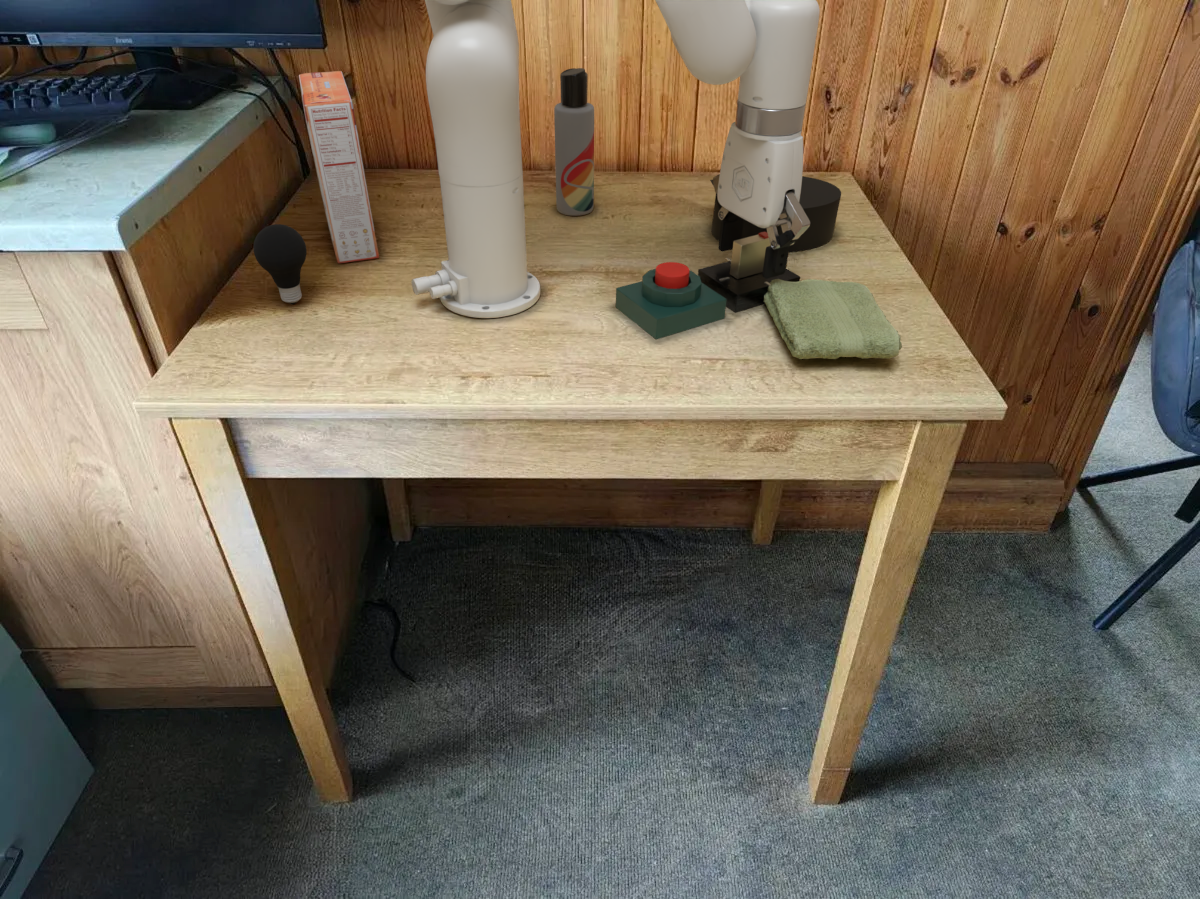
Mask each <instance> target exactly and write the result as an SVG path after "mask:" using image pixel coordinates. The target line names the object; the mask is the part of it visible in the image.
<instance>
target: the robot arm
mask: <svg viewBox="0 0 1200 899" xmlns="http://www.w3.org/2000/svg"><path fill="white" fill-rule="evenodd" d="M654 1H655V3H656V5H657V7H658V10H659V11H660V13H661V15H662V17H663V19H664V21H665V23H666V26H667V28H668V30H669V32H670V37H671V41H672V43H673V46H674V48H675V50H676V51H677V53H678V55H679V57H680V58H681V59H682V61H683V63H684V65H685V67H686V69H687V70H688V72H690V74H691V75H692V76H693V77H694V78H695V79H697V80H698V81H700V82H702V83H704V84H707V85H712V86H720V85H726V84H729V83H731V82H734V81H735V80H737V79H739V83H738V93H737V100H736V111H735V121H734V122H732V123H731V124H730V127H729V131H728V133H727V136H726V140H725V143H724V144H725V145H724V148H723V153H722V158H721V164H720V171H719V174H717V175H716V176H714V177H712V180H713V185H714V186H713V185H712V186H713V189H714V192H715V196H716V201H717V204H718V206H719V209H720V210H719V213H718V216H719V218H720V219H721V220H723V221H721V227H720V237H719V241H718V246H717V247H718V251H719V252H721V253H724V252H727V251H731V250H733V242H734V241H735V240H739V239H742V231H743V222H744V219H745V220H746V221H748V222H750V223H752V224H754V225H756V226H758V227H760V228H766V229H767V233H768V237H769V241H770V245H771V246H768V247H766V251H765V258H764V265H763V272H762V275H763V277H764V278H766V279H768V278H772V277H775V276H779V275H782V274H784V273H785V271H786V269H787V266H788V265H787V264H788V257H789V253H790V252H789V246H790V245H793V244H794V243H795V241H797V240H798V239H800V238H801V236H802V234H803V233H804V232H805V231H806V230H807V229H808V227H809V226H810V220H809V219H808V217H807V215H806V213H805V212H804V210H803V208H802V206H801V205H800V203H799V200H800V193H801V185H802V176H803V172H804V171H803V170H804V136H803V135H802V132H803V126H804V121H805V120H804V119H805V113H806V106H807V100H808V94H809V86H810V80H811V74H812V67H813V61H814V54H815V48H816V42H817V37H818V36H817V34H818V28H819V23H820V13H821V10H820V5H819V2H818V1H817V0H654ZM424 2H425V7H426V12H427V15H428V19H429V23H430V28H431V32H432V35H433V36H432V40H431V42H430V44H429V47H428V50H427V54H426V60H425V61H426V62H425V85H426V94H427V101H428V106H429V112H430V118H431V123H432V130H433V136H434V143H435V153H436V161H437V170H438V171H437V172H438V176H439V184H440V194H441V203H442V213H443V221H444V231H445V240H446V249H447V259H448V260H442V261H440V264H441V269H440V270H437V271H435V273H434V274H431V275H424V276H420V277H416V278H412V279H411V288H412V291H413V293H414V295H415V296H418V295H422V294H426V293H429V295H430V297H431V299H432V300H436V299H438V298H439V301H440V302H441V304H442V306H444V307H445V308H446V309H448V310H449V311H451V312H453V313H455V314H458V315H460V316H465V317H468V318H476V319H497V318H504V317H509V316H513V315H516V314H519V313H522V312H524V311H526V310H527V309H529V308H531V307H533V306H534V305H535V304H536V303H537V302H538V300H539V299H540V296H541V283H540V280H539V279H538V278H537V277H536V276H535V275H534V274H532V273H530V272H529V271H528V259H527V257H528V256H527V232H526V213H525V212H526V211H525V192H524V191H525V190H524V171H523V154H522V134H521V133H522V132H521V113H520V112H521V111H520V43H519V42H520V41H519V35H518V30H517V25H516V20H515V14H514V9H513V4H512V0H424ZM716 193H717V195H716ZM778 218H780V219H779V220H778ZM790 221H792V225H791V222H790ZM779 225H781V228H782V232H783V234H781V235H780V236H779V235H778V231H777V227H776V226H779Z"/></svg>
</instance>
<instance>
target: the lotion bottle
mask: <svg viewBox="0 0 1200 899" xmlns="http://www.w3.org/2000/svg"><path fill="white" fill-rule="evenodd" d="M588 77H589V75H588V73H587V72H586V69H585V68H582V67H576V68H575V67H574V68H573V67H572V68H568V69H565V70H563V71H562V72H561V73H560V75H559V78H560V79H559V80H560V82H559V83H560V102H559V103H556V104H555V105H554V109H553V110H554V111H553V115H554V117H553V118H554V119H553V121H554V160H555V161H554V163H555V166H554V167H555V203H556V204H555V205H556V210H557V211H558V213H560V214H562V215H565V216H570V217H580V216H585V215H588V214H591V213H592V212H593V211H594V207H595V206H594V204H595V106H594V105H593V104H592V103H590V102H588V101H589V100H588V88H589V87H588V84H589V83H588V82H589V80H588V79H589V78H588Z"/></svg>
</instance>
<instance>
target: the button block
mask: <svg viewBox="0 0 1200 899" xmlns="http://www.w3.org/2000/svg"><path fill="white" fill-rule="evenodd" d="M655 271H656V268H652V269H650V270H648V271H647V272H646V273H645V274H644V275H642V278H641V279H642V280H641V281H637V282H633V283H630V284H626V285H622V286H618V287H615V308H616V309H617V310H618V311H620V312H621V313H622V314H623V315H625V316H626V317H627V318H628V319H629V320H631V321H632V322H633V323H635V324H636V325H637V326H638V327H640V328H641V329H642V330H643V331H645V332H646V333H647V334H648V335H650V336H651V338H654V339H655V340H660V339H662V338H666V337H669V336H672V335H676V334H679V333H682V332H686V331H688V330H692V329H696V328H698V327H702V326H706V325H709V324H712V323H715V322H718V321H722V320H725V317H726V308H727V307H726V298H724V297H723V296H721V295H720V294H718V293H717V292H715V291H714V290H712V289H711V288H709V287H708V286H706V285H705V284H703V283H702V282H701V279H700V276H698V273H697V274H696V273H695V272H694V271H692V270H691V269H689V283H688V286H687V287H683V288H680V289H668V288H664V287H660V286H658V285H656V284H655Z"/></svg>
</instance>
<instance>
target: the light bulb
mask: <svg viewBox="0 0 1200 899" xmlns="http://www.w3.org/2000/svg"><path fill="white" fill-rule="evenodd" d="M307 250H308V249H307V245H306V242H305V240H304V237H303V236H302V235H301V234H300V232H298V231H297V230H296V229H295V228H293V227H291V226H289V225H286V224H281V223H274V224H270V225H267V226H265V227H263V228H262V229H261V230H260V231H259V232H258V233H257V234H256V236H255V238H254V241H253V255H254V258H255V259H256V261H257V263H258V264H259V266H260V267H261V268H262V269H263V270H265V271H266V272H268V274H269V275H270V277H271V278H272V280H273V283H274V284H275V285H276V287H277V289H278V291H279V295H280V298H281V301H283V302H284V303H287V304H289V305H295V304H297V303H298V302H299V301H300V300H301V299H302V297H303V294H302V291H301V290H302V289H301V286H300V285H301V270H302V268H303V266H304V264H305V261H306V259H307V254H308V253H307Z"/></svg>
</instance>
